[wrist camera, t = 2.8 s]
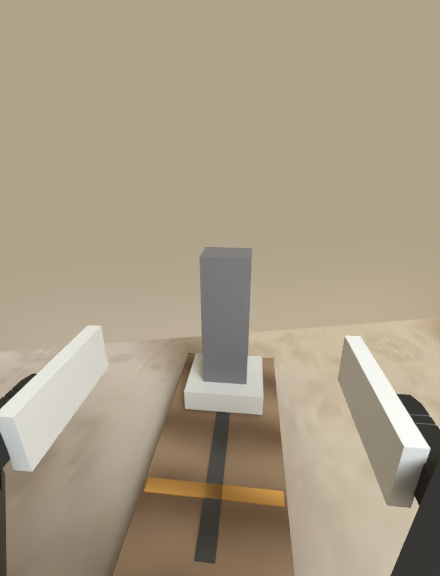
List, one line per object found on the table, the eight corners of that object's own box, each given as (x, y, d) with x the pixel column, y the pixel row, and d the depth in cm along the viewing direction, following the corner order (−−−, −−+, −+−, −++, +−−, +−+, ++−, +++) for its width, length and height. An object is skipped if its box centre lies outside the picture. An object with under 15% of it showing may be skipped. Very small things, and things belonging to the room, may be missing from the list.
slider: (262, 414, 27) (272, 265, 21) (185, 408, 28) (176, 262, 22) (260, 371, 32) (268, 244, 27) (196, 367, 33) (191, 242, 28)
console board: (294, 643, 16) (298, 623, 15) (110, 615, 17) (104, 595, 16) (272, 372, 36) (273, 357, 35) (189, 367, 37) (188, 352, 36)
